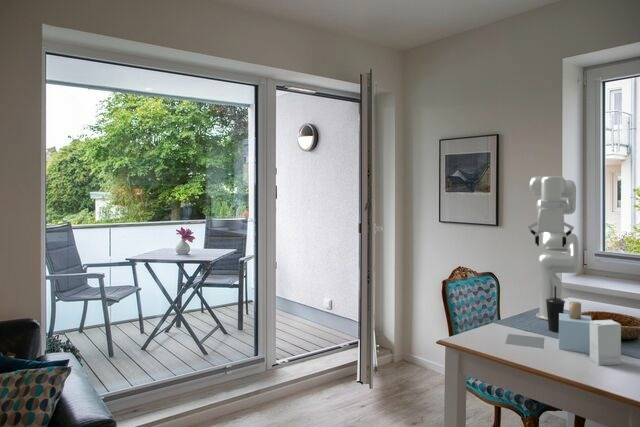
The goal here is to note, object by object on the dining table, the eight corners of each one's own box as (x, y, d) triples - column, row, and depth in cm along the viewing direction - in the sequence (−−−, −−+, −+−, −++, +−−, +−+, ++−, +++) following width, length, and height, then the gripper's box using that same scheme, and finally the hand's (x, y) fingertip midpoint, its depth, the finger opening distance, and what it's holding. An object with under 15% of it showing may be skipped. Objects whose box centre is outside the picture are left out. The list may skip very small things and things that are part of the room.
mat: (508, 334, 201) (508, 333, 201) (544, 338, 195) (544, 337, 195) (505, 344, 188) (505, 343, 188) (543, 349, 182) (543, 348, 182)
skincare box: (611, 359, 171) (611, 319, 170) (621, 365, 165) (622, 323, 164) (588, 359, 171) (588, 319, 170) (597, 365, 165) (598, 324, 164)
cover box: (558, 341, 191) (559, 298, 190) (590, 345, 186) (590, 301, 185) (558, 350, 181) (559, 304, 180) (592, 354, 176) (592, 307, 175)
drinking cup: (567, 334, 200) (567, 288, 199) (548, 333, 201) (548, 287, 200) (561, 329, 207) (562, 284, 206) (543, 328, 209) (543, 284, 208)
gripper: (573, 205, 196) (573, 245, 197) (528, 205, 203) (528, 244, 204) (574, 205, 189) (574, 248, 190) (527, 205, 197) (527, 246, 198)
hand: (550, 246), depth 197 cm, fingers open, 9 cm apart
